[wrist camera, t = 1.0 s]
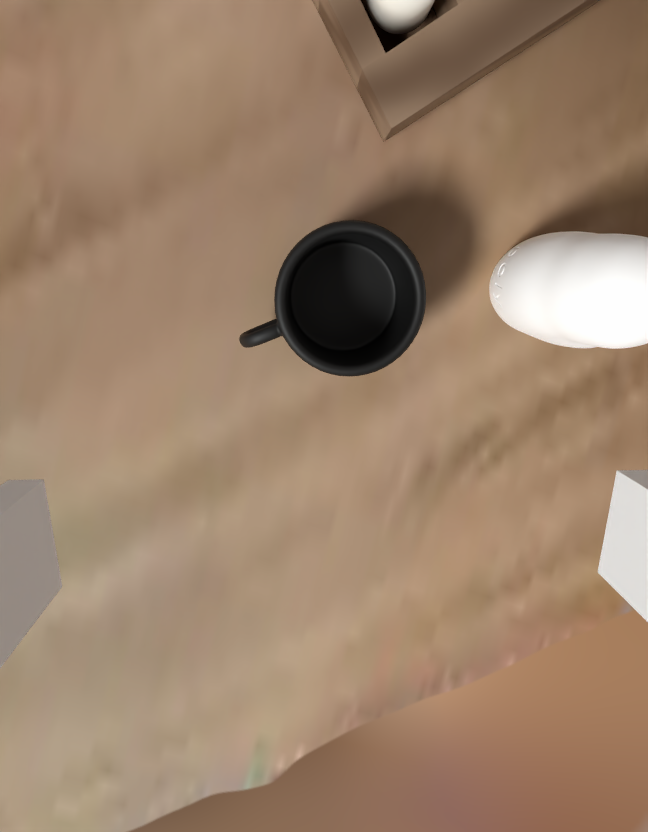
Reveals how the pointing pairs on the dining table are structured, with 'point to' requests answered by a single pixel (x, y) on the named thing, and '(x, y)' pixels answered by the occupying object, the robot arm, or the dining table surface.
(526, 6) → the board
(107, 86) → the dining table surface
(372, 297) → the mug
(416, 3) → the button
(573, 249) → the figurine
